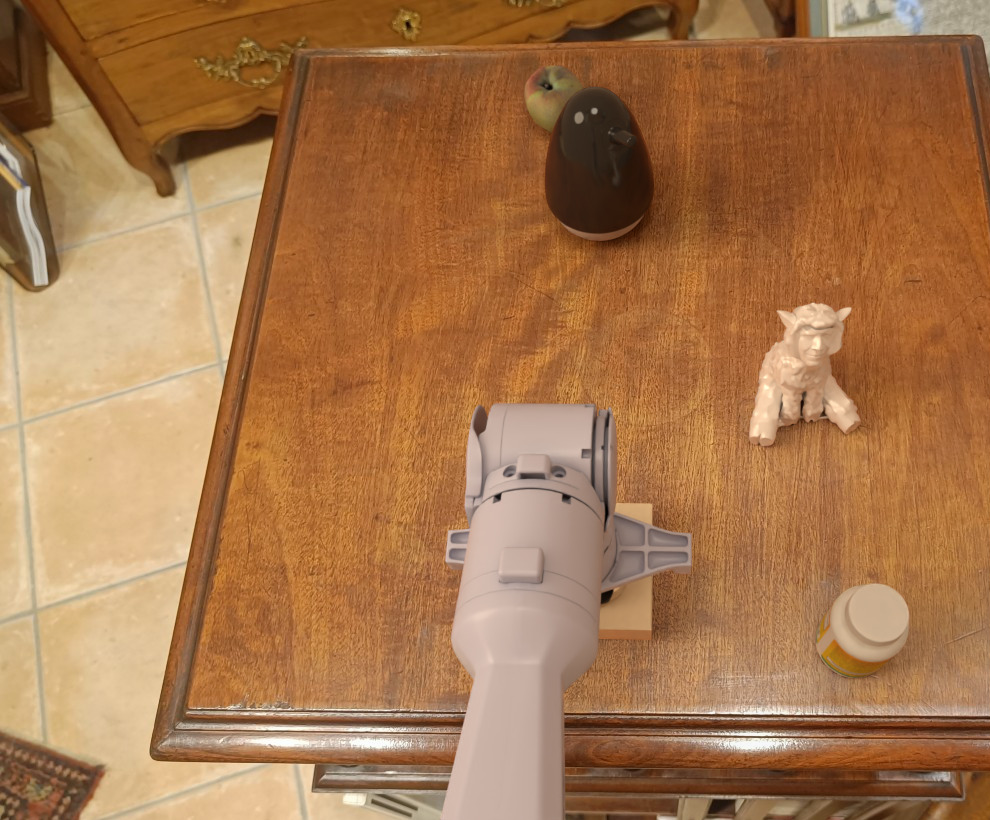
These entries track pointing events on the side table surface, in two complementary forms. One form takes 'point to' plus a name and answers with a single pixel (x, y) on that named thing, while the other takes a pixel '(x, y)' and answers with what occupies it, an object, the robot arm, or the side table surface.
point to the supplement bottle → (863, 630)
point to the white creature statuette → (802, 375)
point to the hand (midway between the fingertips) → (578, 584)
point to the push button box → (629, 594)
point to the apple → (549, 93)
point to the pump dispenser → (598, 167)
